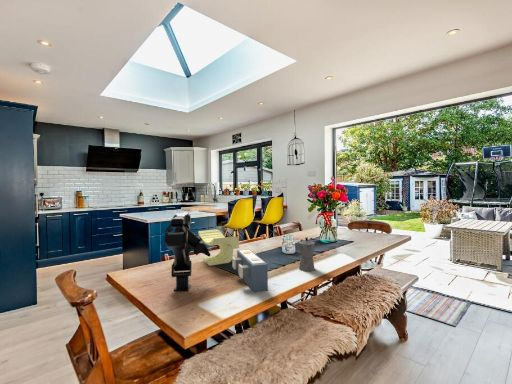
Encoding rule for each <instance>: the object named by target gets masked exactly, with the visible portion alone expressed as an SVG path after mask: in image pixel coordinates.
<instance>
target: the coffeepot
mask: <svg viewBox="0 0 512 384" xmlns="http://www.w3.org/2000/svg"><path fill="white" fill-rule="evenodd" d="M315 244H316V242H314V241H310V240H309V237H308V236H307V237H305V238H304V239H302V238H301V239H300V241H298V247H299V254H300V260H299V268H298V269H299V270H300V271H302V272H313V271H315V263H314V257H313V256H314V250H315Z"/></svg>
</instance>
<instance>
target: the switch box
mask: <svg viewBox="0 0 512 384" xmlns="http://www.w3.org/2000/svg"><path fill="white" fill-rule="evenodd" d="M236 258H241V259H242V265H248V266H249V274H250V276H243V278H242V279H243V281H244V282H245V284H246V286H248V288H249V289H250V290H251V291H252V293H258V292H264V291H265V292H266V291H268V290H269V282H268V281H269V280H268V279H269V278H268V277H269V276H268V271H269V270H268V267H269V266H268V263H267V262H265V261H264V260H263V259H262V258H261V257H260V256H258V255H257V254H256V253H254V251H252V250H251V249H240V250H239V249H236ZM236 270H237V274H239V268H236Z"/></svg>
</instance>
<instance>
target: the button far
mask: <svg viewBox="0 0 512 384" xmlns="http://www.w3.org/2000/svg"><path fill="white" fill-rule="evenodd" d="M231 263H232V265H231V267H232V268H233V269H234V270H237V268H239V264H240V265H241V266H242V259H241V258H237V257H234V256H233V257H232V260H231Z"/></svg>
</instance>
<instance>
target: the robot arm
mask: <svg viewBox="0 0 512 384" xmlns="http://www.w3.org/2000/svg"><path fill="white" fill-rule="evenodd" d="M191 224H192V217H191V214H190V213H189V212H188V211H187V212H176V213H175V214H174V215H173V217H172V218H171V220H170V224H169V225H168V226H167V227H166V229H165V235H164V245H166V248H167V249H168V250H170V251H171V250H172V252H173V255H174V259H173V260H174V261H173V263H172V264H171V271H170V272H171V277H172V278H175V287H174V289H173V291H174V292H179V291H180V292H182V291H184V292H185V291H189V289H190V288H191V286H192V284H189V278H190V277H191V276H192V273H193V271H192V265H193V264H192V263H193V262H192V260H191V259H190V258H191V257H190V253H191V250H192V252H193V254H194V255H196V256H198V255H199V254H200V253H201V254H203V255H205V256H207V257H211V252H210V251H209V249H208V246H207V244H205V243H204V241H203V242H202V238H201V237H200V236H199V235H198V236H197V235H196V234H195V233H194V232H193V231H192V230H191ZM173 230H174V232H173Z"/></svg>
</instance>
